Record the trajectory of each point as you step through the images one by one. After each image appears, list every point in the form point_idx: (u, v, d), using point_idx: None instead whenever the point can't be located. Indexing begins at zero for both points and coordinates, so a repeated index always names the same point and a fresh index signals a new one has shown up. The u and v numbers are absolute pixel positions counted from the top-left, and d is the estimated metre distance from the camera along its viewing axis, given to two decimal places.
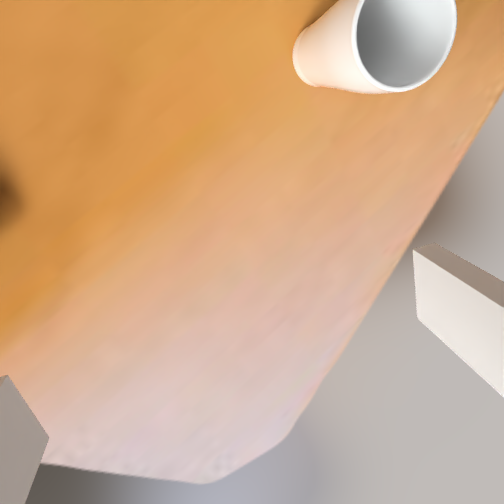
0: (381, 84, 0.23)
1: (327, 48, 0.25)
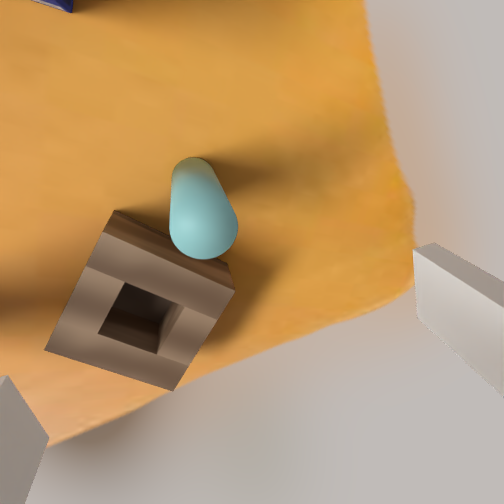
0: None
1: None
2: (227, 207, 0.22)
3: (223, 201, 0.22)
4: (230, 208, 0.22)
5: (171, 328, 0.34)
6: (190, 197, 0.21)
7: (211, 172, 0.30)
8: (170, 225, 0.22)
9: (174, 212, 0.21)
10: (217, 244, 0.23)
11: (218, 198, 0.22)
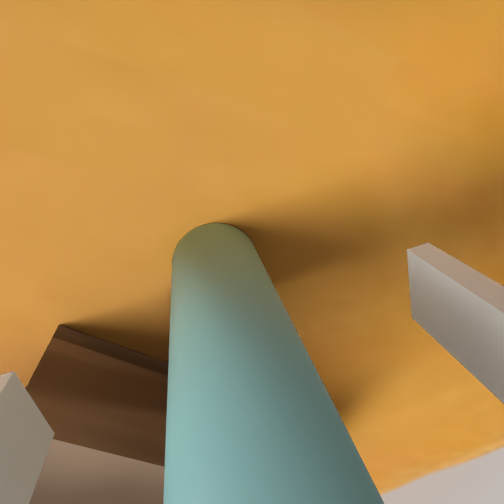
0: None
1: None
2: None
3: None
4: None
5: None
6: None
7: (264, 280, 0.13)
8: None
9: None
10: None
11: None
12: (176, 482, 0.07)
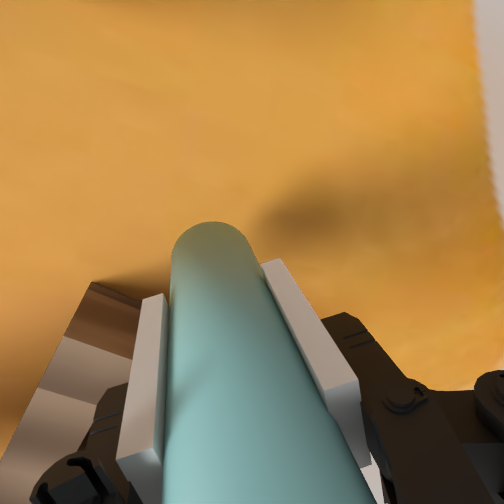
0: None
1: None
2: None
3: None
4: None
5: None
6: None
7: (256, 273, 0.14)
8: None
9: None
10: None
11: None
12: (174, 444, 0.07)
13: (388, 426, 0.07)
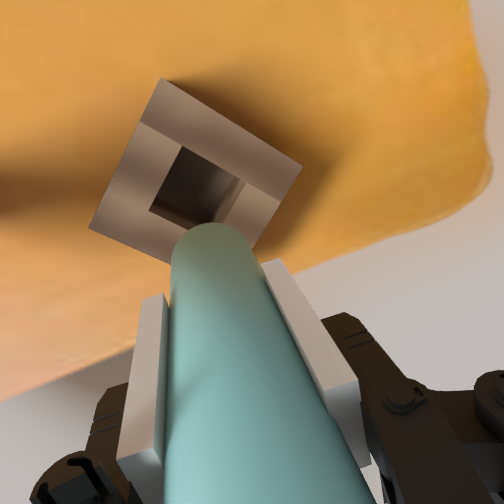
0: None
1: None
2: None
3: None
4: None
5: (229, 210, 0.30)
6: None
7: (257, 275, 0.14)
8: None
9: None
10: None
11: None
12: (174, 450, 0.07)
13: (388, 426, 0.07)
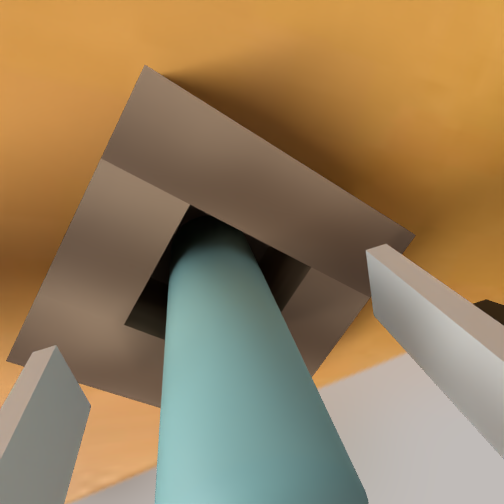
0: None
1: None
2: (343, 479, 0.07)
3: (332, 465, 0.06)
4: (352, 479, 0.07)
5: None
6: (222, 471, 0.06)
7: (250, 262, 0.14)
8: None
9: None
10: None
11: (317, 460, 0.06)
12: (169, 408, 0.08)
13: None
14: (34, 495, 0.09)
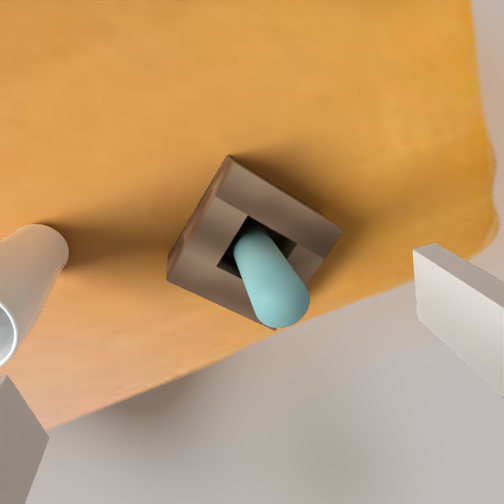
0: None
1: None
2: (302, 286, 0.26)
3: (299, 281, 0.26)
4: (304, 287, 0.26)
5: None
6: (273, 279, 0.26)
7: (271, 240, 0.34)
8: (255, 301, 0.26)
9: (259, 291, 0.26)
10: (291, 315, 0.27)
11: (295, 279, 0.26)
12: (252, 277, 0.28)
13: None
14: None
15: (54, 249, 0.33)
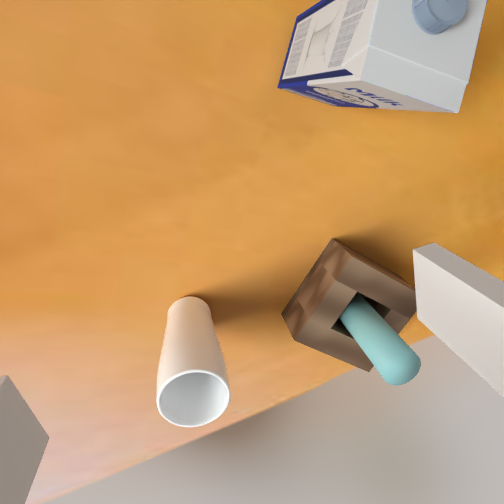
0: (163, 414, 0.34)
1: (162, 359, 0.36)
2: (416, 357, 0.37)
3: (415, 354, 0.37)
4: (418, 357, 0.37)
5: None
6: (397, 354, 0.36)
7: (373, 308, 0.45)
8: (384, 369, 0.37)
9: (387, 362, 0.36)
10: (407, 376, 0.38)
11: (412, 353, 0.37)
12: (375, 347, 0.39)
13: None
14: None
15: (211, 319, 0.44)
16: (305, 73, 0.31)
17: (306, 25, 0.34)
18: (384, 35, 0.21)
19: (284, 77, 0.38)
